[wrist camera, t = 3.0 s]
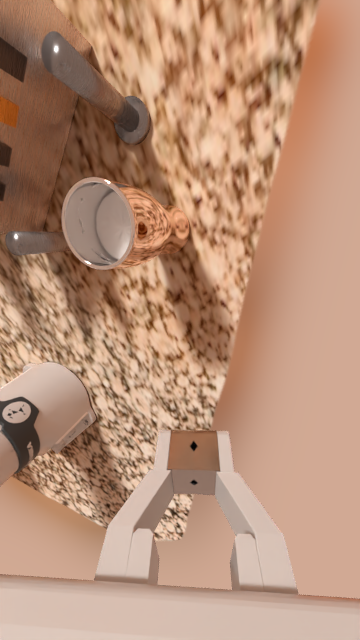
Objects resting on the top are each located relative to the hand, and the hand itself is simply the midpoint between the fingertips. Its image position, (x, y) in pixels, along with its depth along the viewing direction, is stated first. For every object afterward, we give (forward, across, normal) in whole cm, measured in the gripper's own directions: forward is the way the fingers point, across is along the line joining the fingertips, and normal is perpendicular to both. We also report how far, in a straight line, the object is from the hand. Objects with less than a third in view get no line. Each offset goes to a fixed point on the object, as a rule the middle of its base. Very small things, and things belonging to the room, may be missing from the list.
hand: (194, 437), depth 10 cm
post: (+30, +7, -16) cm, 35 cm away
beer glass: (+27, +3, -4) cm, 27 cm away
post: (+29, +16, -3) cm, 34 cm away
